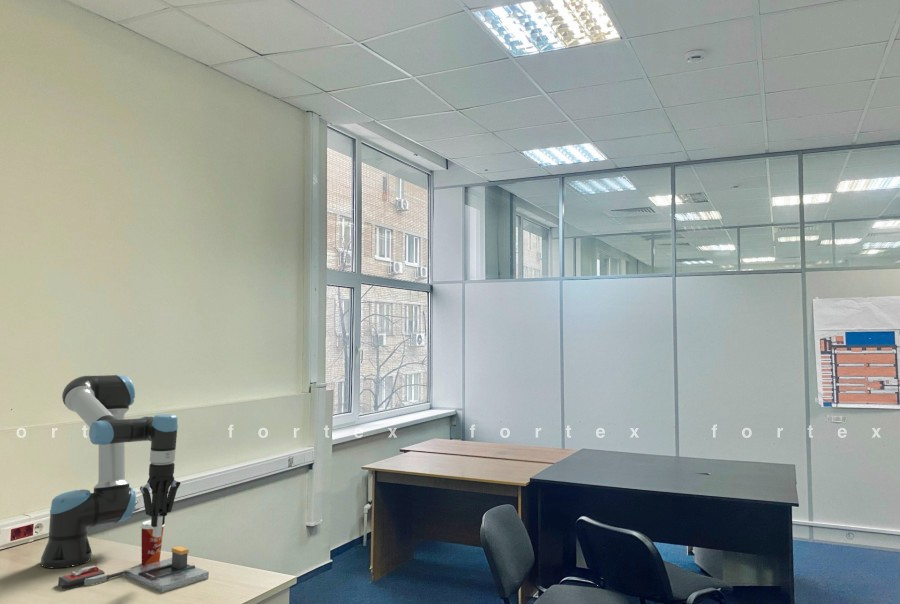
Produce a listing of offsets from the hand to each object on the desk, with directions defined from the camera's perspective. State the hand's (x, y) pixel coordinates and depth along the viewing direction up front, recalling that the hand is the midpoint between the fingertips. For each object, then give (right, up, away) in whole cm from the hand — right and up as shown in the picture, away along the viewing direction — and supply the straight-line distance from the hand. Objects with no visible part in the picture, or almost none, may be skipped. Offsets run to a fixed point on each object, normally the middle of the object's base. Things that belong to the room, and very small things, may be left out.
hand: (156, 536), depth 202 cm
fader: (+5, -12, +5) cm, 14 cm away
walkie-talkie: (-20, -14, -2) cm, 24 cm away
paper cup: (-9, -15, +15) cm, 23 cm away
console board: (+2, -14, +2) cm, 14 cm away
